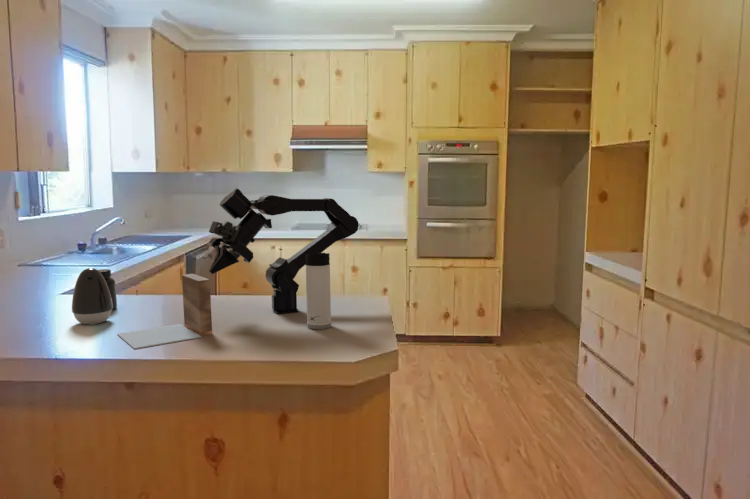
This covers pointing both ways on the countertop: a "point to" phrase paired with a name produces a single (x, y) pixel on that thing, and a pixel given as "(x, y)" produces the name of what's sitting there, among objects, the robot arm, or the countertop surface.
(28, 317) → the countertop surface
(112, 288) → the supplement bottle
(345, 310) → the countertop surface
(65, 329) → the countertop surface
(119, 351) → the countertop surface
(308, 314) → the travel mug
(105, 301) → the black white egg shape
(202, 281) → the walnut slab
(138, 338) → the mat
